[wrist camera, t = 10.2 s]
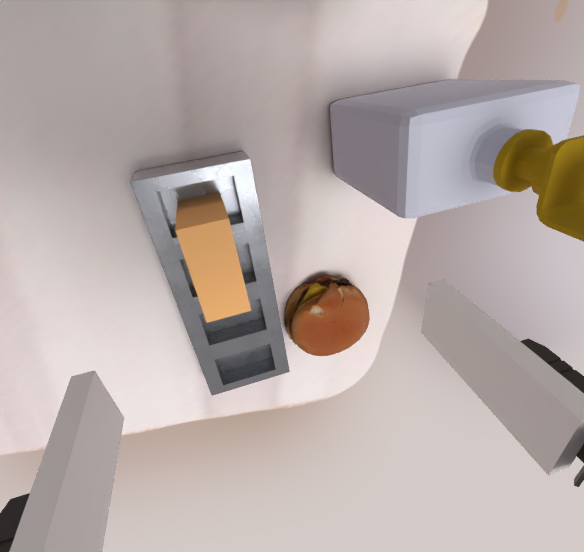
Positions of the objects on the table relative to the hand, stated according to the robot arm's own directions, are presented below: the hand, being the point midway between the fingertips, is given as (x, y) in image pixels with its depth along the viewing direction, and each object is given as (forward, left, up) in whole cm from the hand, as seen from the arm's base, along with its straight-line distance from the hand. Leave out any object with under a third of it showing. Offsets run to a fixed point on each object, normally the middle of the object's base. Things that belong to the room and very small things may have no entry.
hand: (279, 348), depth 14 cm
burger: (+16, +8, -21) cm, 28 cm away
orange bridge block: (+3, -2, -19) cm, 20 cm away
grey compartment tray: (+8, -2, -21) cm, 22 cm away
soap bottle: (-3, +16, -21) cm, 27 cm away
